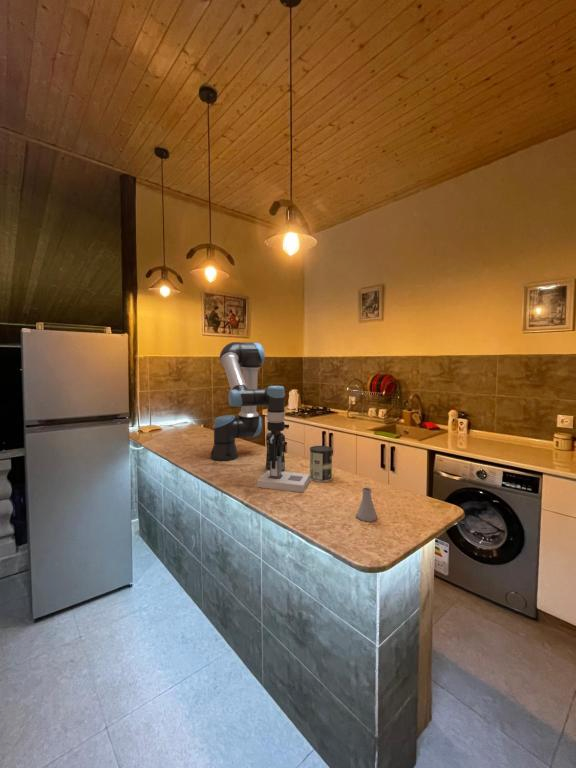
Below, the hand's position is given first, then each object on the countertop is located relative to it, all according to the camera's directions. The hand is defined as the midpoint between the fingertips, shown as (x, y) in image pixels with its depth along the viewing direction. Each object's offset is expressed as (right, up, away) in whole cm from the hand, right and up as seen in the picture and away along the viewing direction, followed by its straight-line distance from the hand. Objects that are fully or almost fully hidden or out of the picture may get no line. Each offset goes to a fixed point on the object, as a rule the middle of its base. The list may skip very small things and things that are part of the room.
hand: (275, 473), depth 145 cm
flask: (+32, -7, -32) cm, 46 cm away
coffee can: (+21, -4, +7) cm, 22 cm away
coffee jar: (-1, -3, +19) cm, 19 cm away
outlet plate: (+4, -4, -1) cm, 6 cm away
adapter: (0, -3, 0) cm, 3 cm away
